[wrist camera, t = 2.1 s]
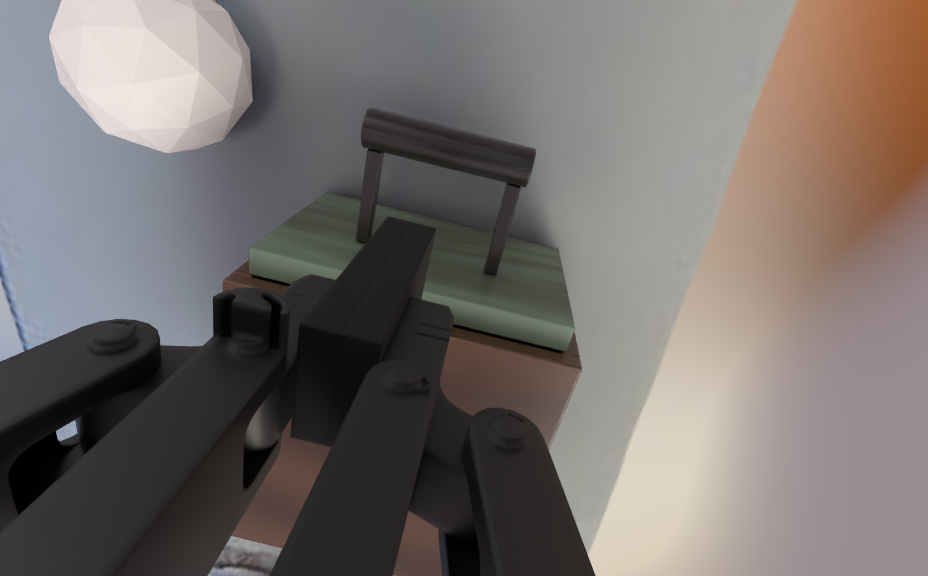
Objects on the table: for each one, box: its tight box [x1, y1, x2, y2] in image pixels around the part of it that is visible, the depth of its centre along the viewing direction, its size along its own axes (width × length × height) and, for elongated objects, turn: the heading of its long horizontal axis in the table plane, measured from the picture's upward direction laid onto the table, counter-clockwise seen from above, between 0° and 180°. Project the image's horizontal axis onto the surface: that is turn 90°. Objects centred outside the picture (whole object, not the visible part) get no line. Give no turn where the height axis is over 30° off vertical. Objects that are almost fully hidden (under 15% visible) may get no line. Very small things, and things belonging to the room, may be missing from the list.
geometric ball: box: [49, 0, 253, 153], centre depth 22 cm, size 8×8×8 cm
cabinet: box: [223, 260, 582, 576], centre depth 27 cm, size 16×15×11 cm
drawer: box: [249, 108, 575, 352], centre depth 25 cm, size 20×13×9 cm, turn 167°
